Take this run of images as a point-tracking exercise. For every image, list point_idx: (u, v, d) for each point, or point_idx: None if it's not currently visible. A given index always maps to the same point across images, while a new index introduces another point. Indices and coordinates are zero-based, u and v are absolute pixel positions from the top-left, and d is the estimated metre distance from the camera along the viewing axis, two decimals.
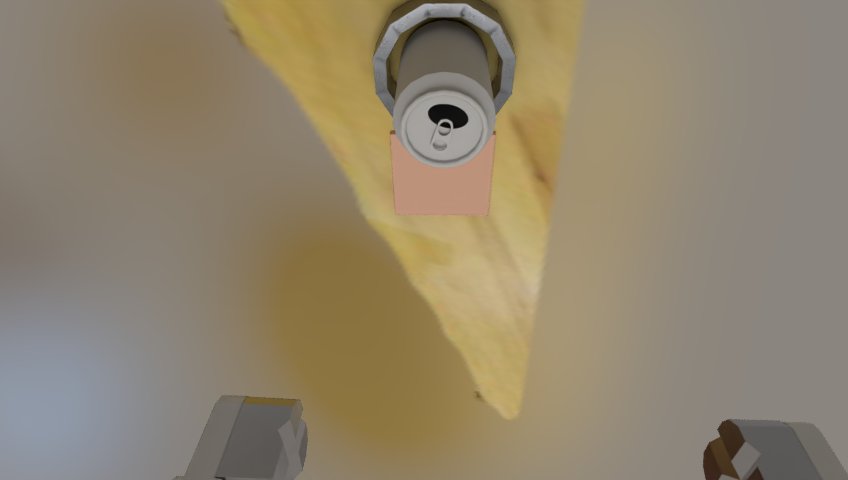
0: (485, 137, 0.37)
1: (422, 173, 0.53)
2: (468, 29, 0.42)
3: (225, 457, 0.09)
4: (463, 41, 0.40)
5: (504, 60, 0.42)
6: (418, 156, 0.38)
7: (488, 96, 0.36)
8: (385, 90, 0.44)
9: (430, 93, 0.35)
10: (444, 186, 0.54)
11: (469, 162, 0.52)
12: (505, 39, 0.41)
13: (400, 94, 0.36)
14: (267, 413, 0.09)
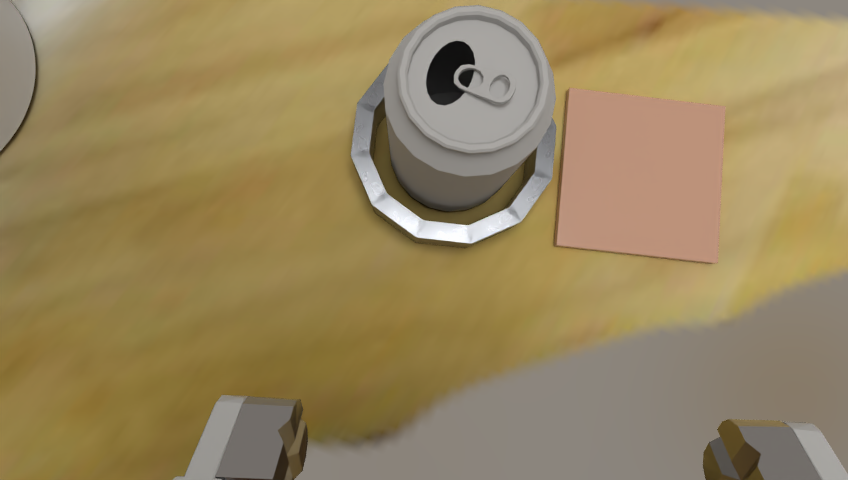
0: (491, 10, 0.21)
1: (633, 204, 0.32)
2: None
3: (225, 457, 0.09)
4: None
5: None
6: (520, 127, 0.21)
7: None
8: (468, 227, 0.29)
9: (400, 91, 0.21)
10: (661, 173, 0.32)
11: (616, 129, 0.33)
12: None
13: (414, 155, 0.22)
14: (267, 413, 0.09)
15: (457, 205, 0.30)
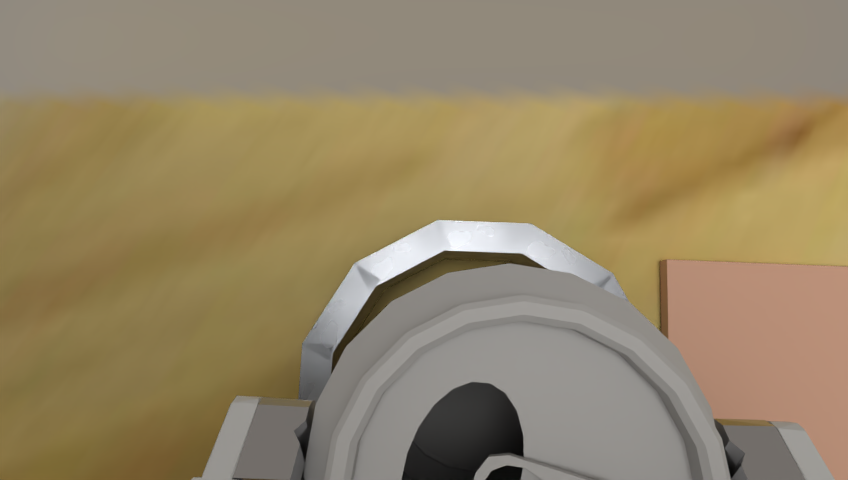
0: (558, 308, 0.08)
1: None
2: None
3: (242, 458, 0.09)
4: None
5: (442, 247, 0.17)
6: None
7: (410, 295, 0.10)
8: None
9: None
10: (844, 400, 0.19)
11: (755, 326, 0.19)
12: (391, 247, 0.17)
13: None
14: (283, 414, 0.09)
15: None
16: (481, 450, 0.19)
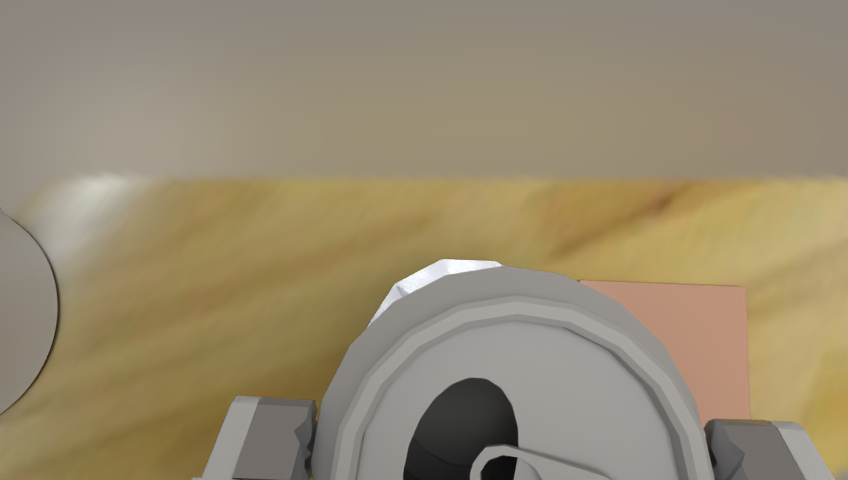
0: (549, 307, 0.09)
1: None
2: None
3: (242, 458, 0.09)
4: None
5: (444, 274, 0.30)
6: None
7: (410, 296, 0.10)
8: None
9: None
10: (683, 364, 0.31)
11: None
12: (415, 274, 0.30)
13: None
14: (282, 414, 0.09)
15: None
16: (480, 447, 0.20)
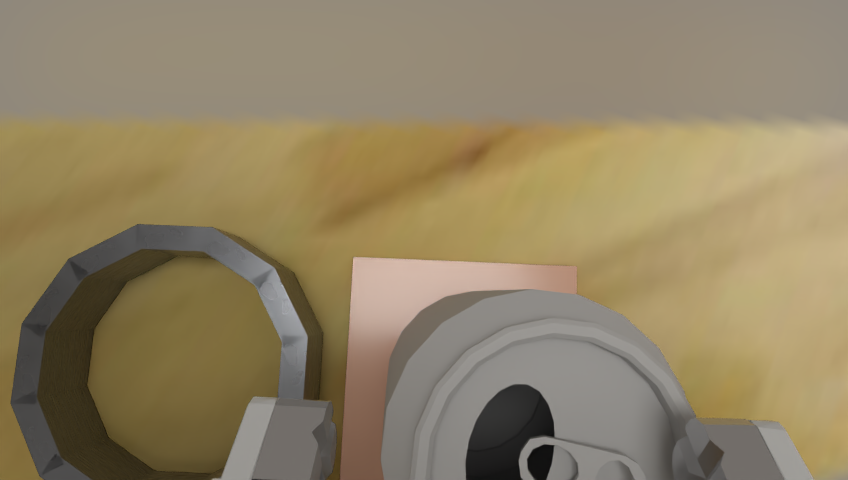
0: (577, 327, 0.11)
1: None
2: (400, 336, 0.21)
3: (260, 459, 0.09)
4: (394, 358, 0.18)
5: (140, 246, 0.21)
6: None
7: (456, 318, 0.12)
8: None
9: None
10: None
11: None
12: (98, 246, 0.21)
13: None
14: (300, 415, 0.09)
15: None
16: (483, 433, 0.22)
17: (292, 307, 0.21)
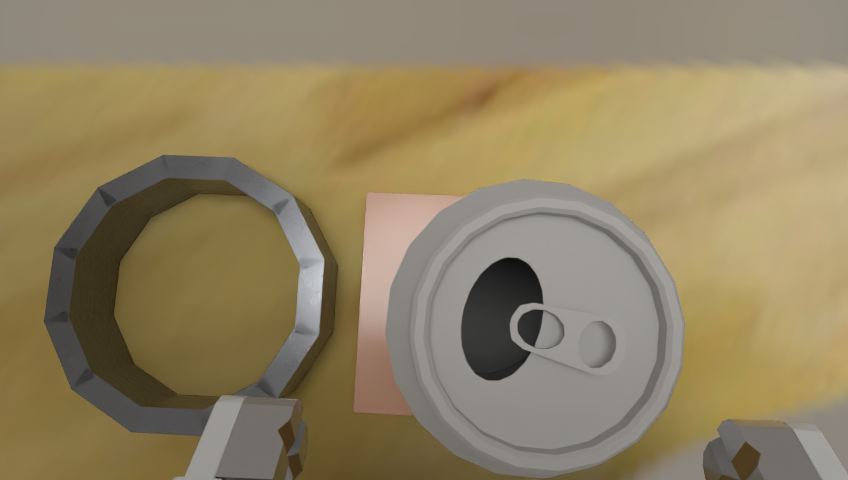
0: (563, 201, 0.12)
1: None
2: None
3: (225, 457, 0.09)
4: None
5: (165, 175, 0.22)
6: (643, 413, 0.12)
7: (453, 206, 0.13)
8: (203, 413, 0.21)
9: (419, 376, 0.12)
10: None
11: None
12: (126, 175, 0.22)
13: (454, 452, 0.13)
14: (267, 413, 0.09)
15: None
16: (492, 356, 0.23)
17: (310, 233, 0.22)
